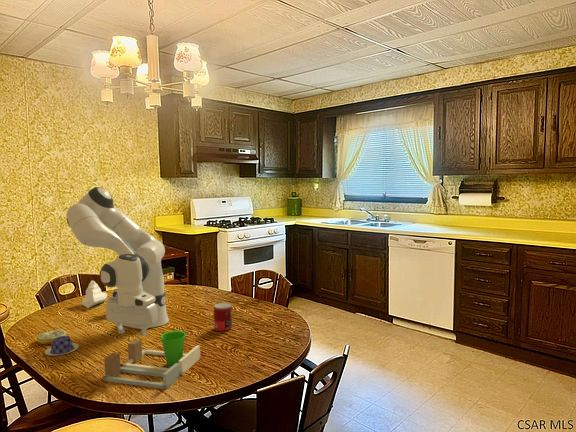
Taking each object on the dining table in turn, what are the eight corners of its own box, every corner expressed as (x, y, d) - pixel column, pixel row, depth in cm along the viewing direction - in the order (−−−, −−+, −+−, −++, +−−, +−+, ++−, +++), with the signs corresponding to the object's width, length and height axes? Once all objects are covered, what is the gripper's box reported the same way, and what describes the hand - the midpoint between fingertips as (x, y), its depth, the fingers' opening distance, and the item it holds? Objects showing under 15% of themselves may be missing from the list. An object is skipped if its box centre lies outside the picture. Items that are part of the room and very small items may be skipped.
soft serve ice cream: (75, 311, 213) (70, 285, 214) (95, 305, 227) (89, 281, 228) (95, 306, 210) (89, 280, 211) (113, 300, 225) (108, 276, 226)
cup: (164, 359, 150) (163, 331, 149) (188, 358, 150) (188, 330, 149) (158, 370, 141) (157, 340, 140) (184, 369, 141) (183, 339, 141)
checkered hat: (56, 359, 151) (55, 346, 151) (38, 353, 157) (37, 340, 156) (85, 348, 162) (84, 335, 161) (67, 342, 167) (66, 330, 167)
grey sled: (101, 380, 134) (100, 360, 134) (117, 369, 142) (116, 350, 141) (166, 389, 128) (165, 368, 127) (179, 377, 136) (178, 357, 135)
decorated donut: (70, 340, 170) (69, 332, 169) (42, 348, 162) (41, 339, 161) (61, 334, 177) (61, 326, 176) (34, 341, 169) (33, 333, 168)
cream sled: (120, 367, 144) (119, 348, 143) (142, 351, 156) (142, 334, 156) (182, 374, 137) (181, 355, 137) (200, 358, 150) (199, 340, 150)
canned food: (228, 332, 176) (228, 308, 175) (211, 331, 178) (211, 307, 177) (234, 326, 183) (233, 303, 182) (218, 325, 185) (217, 302, 184)
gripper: (101, 298, 147) (103, 334, 148) (149, 302, 142) (150, 339, 143) (113, 294, 153) (114, 328, 154) (159, 297, 148) (160, 333, 149)
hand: (132, 334), depth 149 cm, fingers open, 8 cm apart
